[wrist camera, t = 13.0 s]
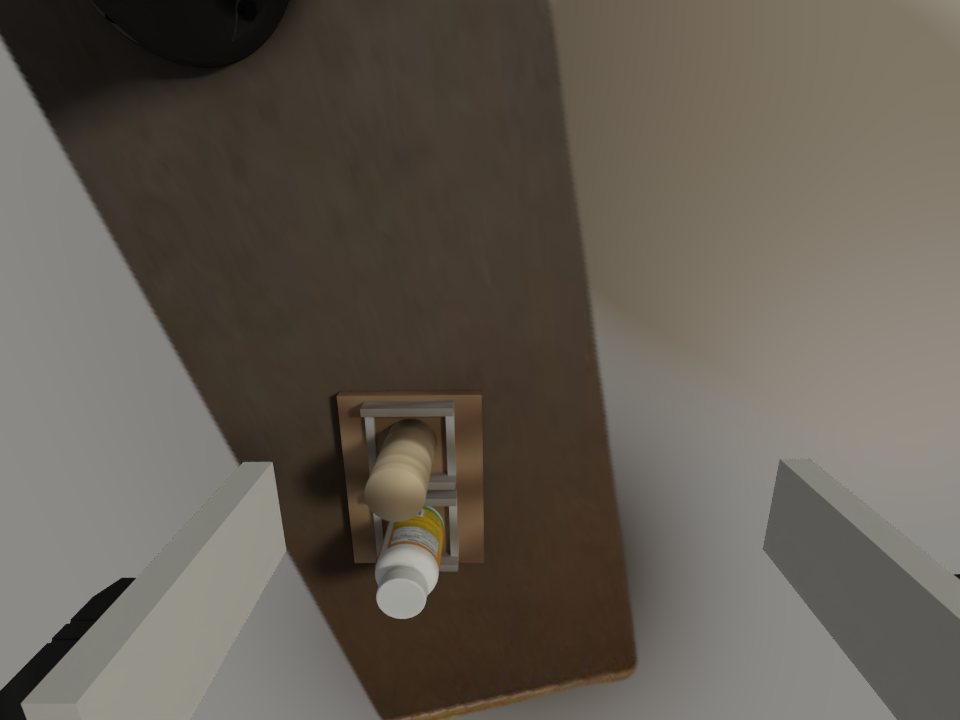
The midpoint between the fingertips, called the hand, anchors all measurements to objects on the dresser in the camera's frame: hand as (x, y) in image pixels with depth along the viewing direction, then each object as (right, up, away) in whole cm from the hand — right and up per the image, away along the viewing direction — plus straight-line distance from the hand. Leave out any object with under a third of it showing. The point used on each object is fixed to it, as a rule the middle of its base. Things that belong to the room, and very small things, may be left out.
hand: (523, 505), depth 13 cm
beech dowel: (-7, -4, +33) cm, 34 cm away
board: (-7, -8, +36) cm, 37 cm away
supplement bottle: (-7, -12, +36) cm, 39 cm away
